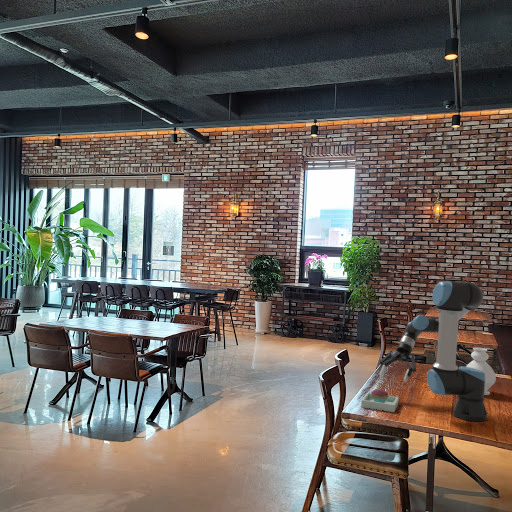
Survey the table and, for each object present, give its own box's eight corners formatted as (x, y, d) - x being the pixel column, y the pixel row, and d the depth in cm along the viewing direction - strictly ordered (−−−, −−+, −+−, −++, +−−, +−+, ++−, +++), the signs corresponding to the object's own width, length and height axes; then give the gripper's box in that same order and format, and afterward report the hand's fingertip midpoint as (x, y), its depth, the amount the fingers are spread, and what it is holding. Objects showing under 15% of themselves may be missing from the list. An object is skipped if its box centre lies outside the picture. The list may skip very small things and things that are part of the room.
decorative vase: (458, 386, 305) (460, 344, 305) (490, 389, 301) (492, 347, 301) (464, 394, 288) (466, 350, 287) (498, 397, 284) (500, 352, 284)
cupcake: (384, 406, 252) (385, 382, 252) (368, 403, 257) (369, 379, 257) (390, 403, 260) (391, 379, 260) (374, 399, 264) (375, 376, 264)
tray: (394, 412, 248) (394, 405, 248) (361, 407, 254) (361, 400, 254) (398, 403, 262) (398, 397, 262) (366, 399, 268) (367, 392, 268)
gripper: (429, 354, 273) (417, 387, 262) (386, 347, 289) (372, 378, 278) (426, 345, 269) (413, 378, 258) (382, 339, 285) (368, 369, 274)
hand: (392, 378), depth 268 cm, fingers open, 13 cm apart
